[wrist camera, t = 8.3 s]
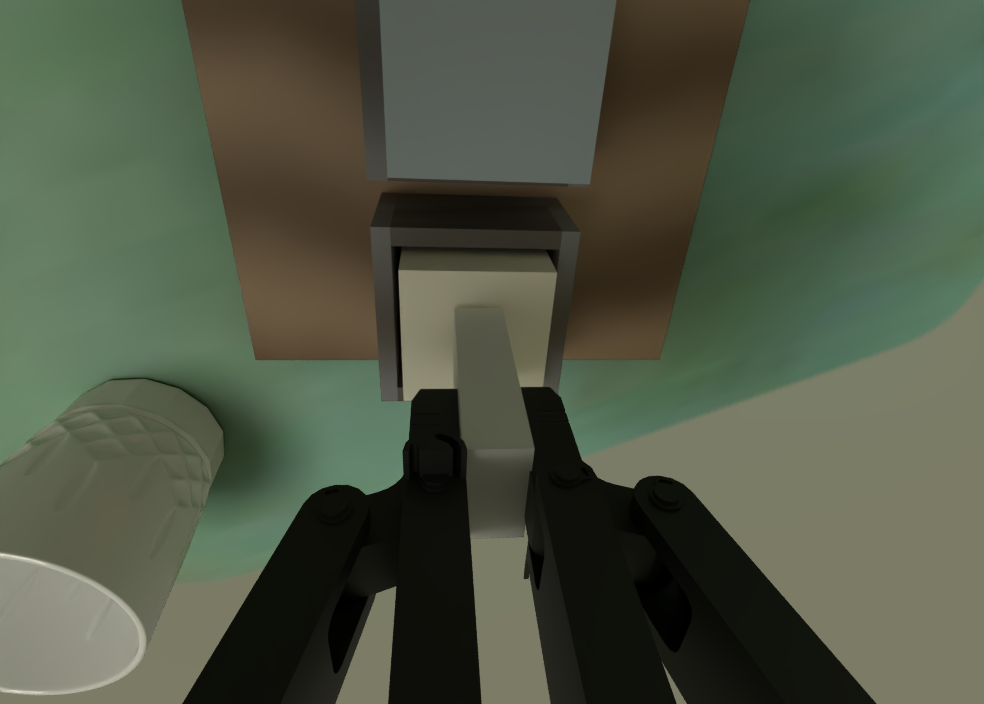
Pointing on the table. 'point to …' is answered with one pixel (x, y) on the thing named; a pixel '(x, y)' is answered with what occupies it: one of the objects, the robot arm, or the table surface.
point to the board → (449, 203)
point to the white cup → (99, 532)
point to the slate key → (494, 88)
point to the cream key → (472, 284)
